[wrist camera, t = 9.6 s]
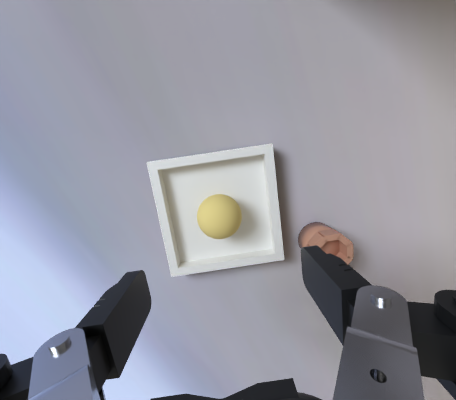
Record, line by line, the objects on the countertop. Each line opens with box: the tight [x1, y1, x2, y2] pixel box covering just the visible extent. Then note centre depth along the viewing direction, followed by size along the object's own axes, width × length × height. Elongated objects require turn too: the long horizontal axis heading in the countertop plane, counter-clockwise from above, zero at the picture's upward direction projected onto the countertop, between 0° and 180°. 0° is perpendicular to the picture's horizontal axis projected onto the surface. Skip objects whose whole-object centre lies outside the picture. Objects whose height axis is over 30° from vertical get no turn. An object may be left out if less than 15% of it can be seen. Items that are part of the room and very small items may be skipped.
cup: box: [298, 222, 353, 265], centre depth 26 cm, size 5×5×5 cm
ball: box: [197, 194, 242, 239], centre depth 24 cm, size 5×5×5 cm
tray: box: [147, 143, 284, 277], centre depth 26 cm, size 14×14×2 cm
